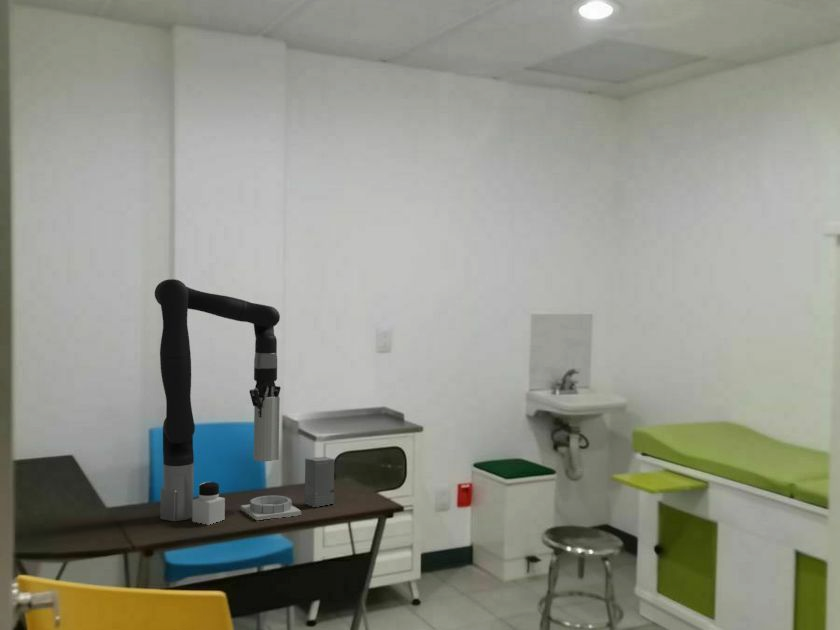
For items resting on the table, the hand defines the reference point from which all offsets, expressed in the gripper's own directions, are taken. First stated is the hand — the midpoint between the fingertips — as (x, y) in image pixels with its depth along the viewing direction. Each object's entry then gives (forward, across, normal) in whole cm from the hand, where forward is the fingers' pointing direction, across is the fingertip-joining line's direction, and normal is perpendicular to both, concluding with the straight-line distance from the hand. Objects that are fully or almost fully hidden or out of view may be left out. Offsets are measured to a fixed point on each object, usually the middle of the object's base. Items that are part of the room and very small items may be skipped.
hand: (264, 418), depth 275 cm
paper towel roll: (+14, 0, 0) cm, 14 cm away
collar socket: (+30, +3, +6) cm, 31 cm away
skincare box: (+30, -14, +13) cm, 36 cm away
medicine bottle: (+30, +21, -5) cm, 37 cm away
